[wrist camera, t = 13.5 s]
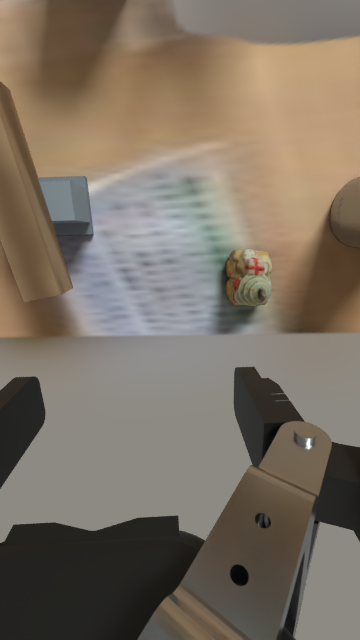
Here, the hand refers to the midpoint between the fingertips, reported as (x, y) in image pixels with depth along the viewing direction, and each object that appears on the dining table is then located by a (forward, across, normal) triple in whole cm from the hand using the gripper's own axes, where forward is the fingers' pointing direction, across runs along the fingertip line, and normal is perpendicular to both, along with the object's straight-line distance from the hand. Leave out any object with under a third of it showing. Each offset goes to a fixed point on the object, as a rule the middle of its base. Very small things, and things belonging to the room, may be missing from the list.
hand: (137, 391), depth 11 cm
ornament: (+30, -12, 0) cm, 33 cm away
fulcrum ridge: (+30, +14, -10) cm, 35 cm away
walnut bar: (+23, +14, -10) cm, 29 cm away
